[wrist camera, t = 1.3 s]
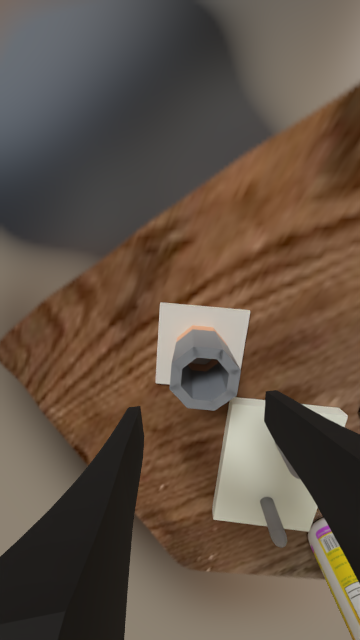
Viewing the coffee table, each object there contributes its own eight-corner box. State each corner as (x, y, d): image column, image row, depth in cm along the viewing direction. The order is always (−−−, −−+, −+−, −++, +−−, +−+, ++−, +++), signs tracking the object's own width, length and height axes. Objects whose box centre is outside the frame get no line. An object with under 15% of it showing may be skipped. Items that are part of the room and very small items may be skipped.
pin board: (338, 408, 20) (385, 448, 15) (303, 519, 24) (332, 580, 19) (230, 396, 21) (242, 432, 16) (212, 508, 25) (217, 564, 20)
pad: (249, 310, 19) (250, 310, 18) (235, 389, 21) (236, 391, 20) (160, 302, 19) (160, 302, 18) (156, 381, 21) (155, 383, 20)
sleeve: (227, 328, 19) (244, 351, 13) (221, 373, 20) (233, 412, 14) (178, 323, 19) (172, 344, 13) (174, 368, 20) (168, 405, 14)
